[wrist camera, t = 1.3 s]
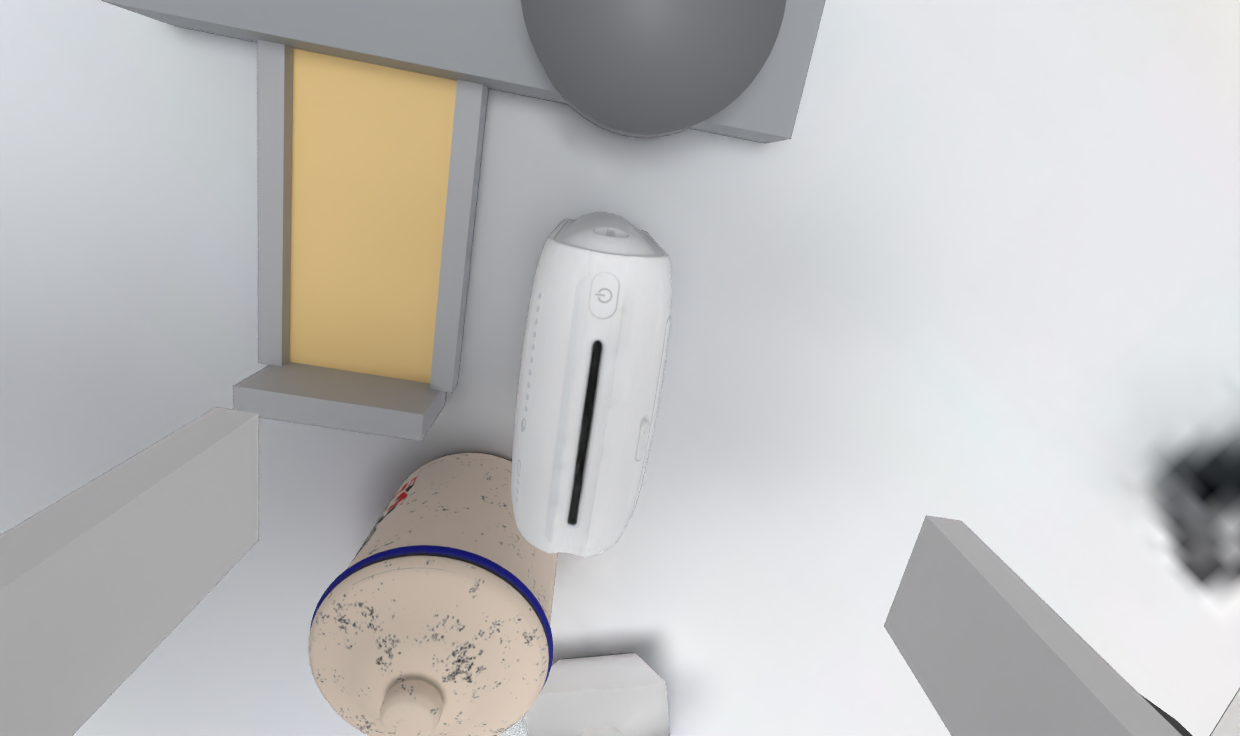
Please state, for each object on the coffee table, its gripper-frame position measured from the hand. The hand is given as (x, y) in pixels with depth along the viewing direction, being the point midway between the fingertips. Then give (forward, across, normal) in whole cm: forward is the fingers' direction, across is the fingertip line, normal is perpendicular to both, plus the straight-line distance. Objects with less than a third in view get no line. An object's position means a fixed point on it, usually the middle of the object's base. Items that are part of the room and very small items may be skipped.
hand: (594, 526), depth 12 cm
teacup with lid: (+17, -4, -13) cm, 22 cm away
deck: (+17, -7, +5) cm, 19 cm away
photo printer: (+17, 0, 0) cm, 17 cm away
